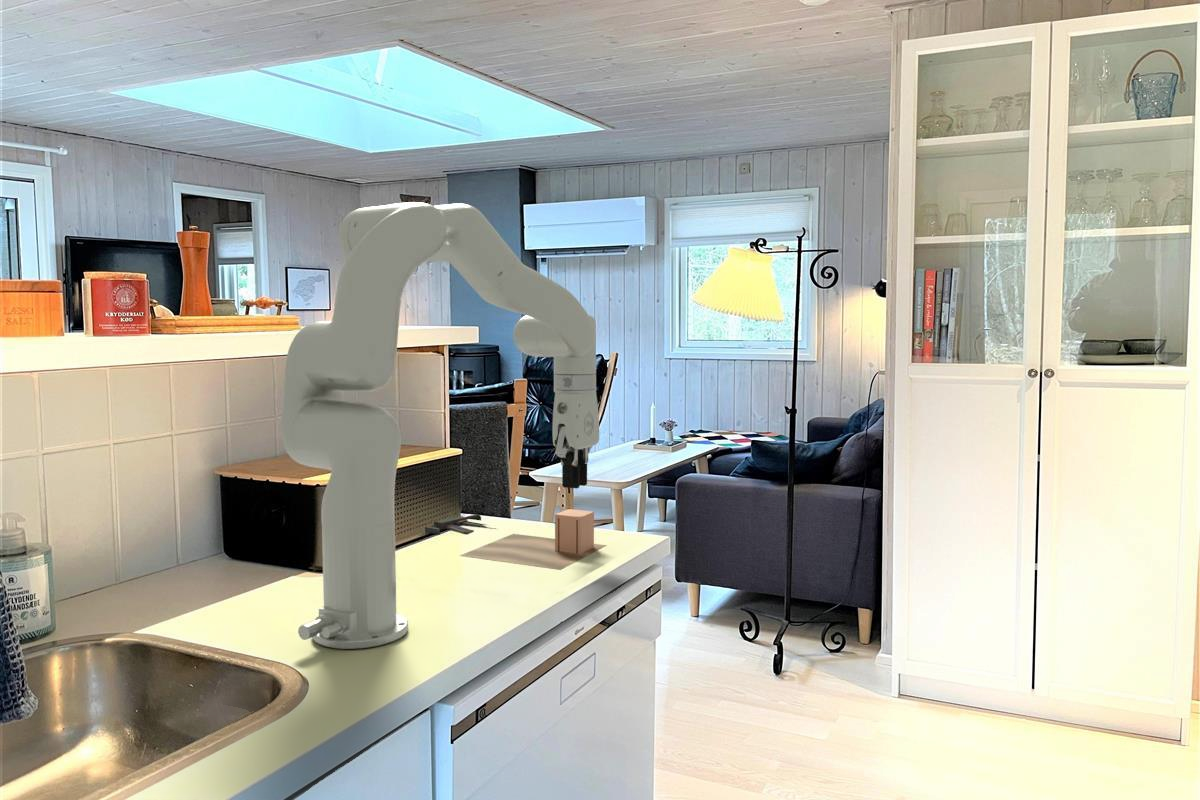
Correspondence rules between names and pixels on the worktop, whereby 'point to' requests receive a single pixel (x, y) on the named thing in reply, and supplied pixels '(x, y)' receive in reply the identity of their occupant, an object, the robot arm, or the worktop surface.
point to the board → (528, 552)
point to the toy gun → (455, 521)
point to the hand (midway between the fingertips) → (574, 485)
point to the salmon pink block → (574, 531)
